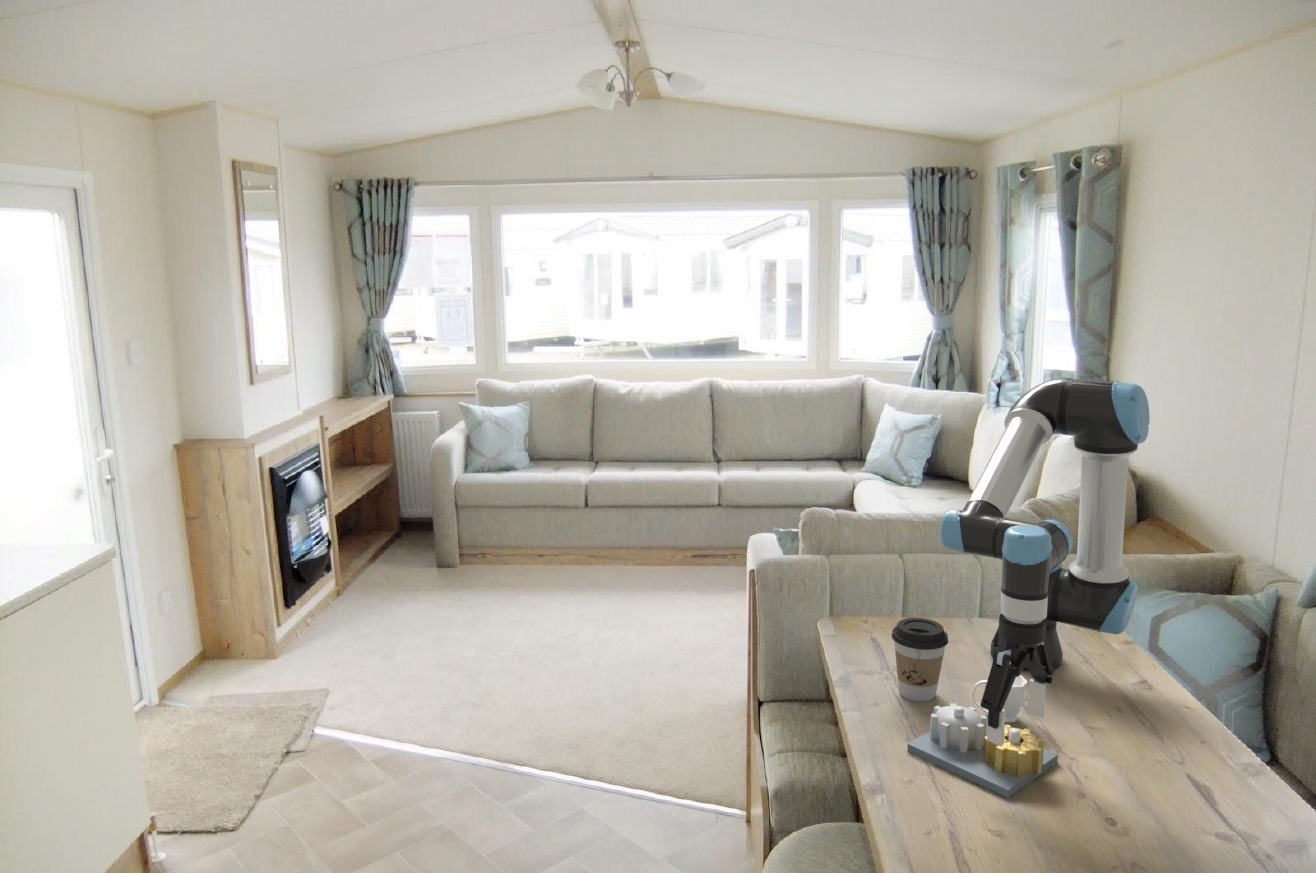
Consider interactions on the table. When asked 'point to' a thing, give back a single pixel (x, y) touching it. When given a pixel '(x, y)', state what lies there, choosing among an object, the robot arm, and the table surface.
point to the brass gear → (1016, 754)
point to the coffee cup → (919, 657)
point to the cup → (1009, 698)
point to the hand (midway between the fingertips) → (1015, 728)
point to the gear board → (969, 749)
